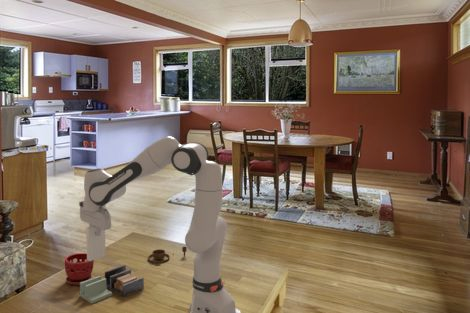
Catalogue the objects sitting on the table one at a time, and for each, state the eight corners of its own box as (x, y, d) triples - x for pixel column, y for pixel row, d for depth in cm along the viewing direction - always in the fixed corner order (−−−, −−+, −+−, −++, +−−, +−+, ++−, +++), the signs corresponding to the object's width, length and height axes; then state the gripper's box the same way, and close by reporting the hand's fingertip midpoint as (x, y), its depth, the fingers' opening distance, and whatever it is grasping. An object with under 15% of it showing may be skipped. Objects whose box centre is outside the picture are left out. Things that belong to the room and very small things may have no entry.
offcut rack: (143, 288, 186) (143, 273, 185) (123, 297, 178) (123, 281, 177) (124, 279, 196) (124, 264, 194) (105, 286, 187) (104, 271, 186)
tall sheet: (105, 256, 182) (104, 224, 180) (89, 261, 176) (88, 228, 173) (103, 255, 183) (102, 223, 181) (87, 260, 177) (86, 227, 175)
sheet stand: (112, 295, 179) (111, 281, 178) (91, 303, 172) (91, 289, 171) (99, 288, 186) (99, 275, 185) (79, 296, 178) (79, 282, 177)
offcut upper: (137, 281, 186) (136, 277, 185) (124, 286, 180) (124, 282, 180) (129, 277, 189) (129, 273, 189) (116, 282, 184) (116, 278, 184)
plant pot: (78, 289, 184) (77, 265, 182) (59, 282, 190) (58, 259, 189) (100, 278, 195) (99, 255, 194) (81, 272, 202) (80, 250, 200)
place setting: (154, 253, 231) (154, 243, 230) (187, 256, 227) (187, 246, 226) (142, 265, 214) (142, 254, 213) (177, 268, 210) (177, 258, 209)
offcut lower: (139, 285, 186) (139, 281, 186) (123, 291, 179) (123, 287, 179) (130, 280, 191) (130, 276, 190) (114, 287, 184) (114, 283, 184)
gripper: (114, 208, 171) (115, 238, 173) (89, 199, 184) (90, 227, 186) (101, 210, 167) (102, 242, 169) (76, 201, 180) (77, 231, 182)
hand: (95, 234), depth 178 cm, fingers closed on tall sheet, 2 cm apart
